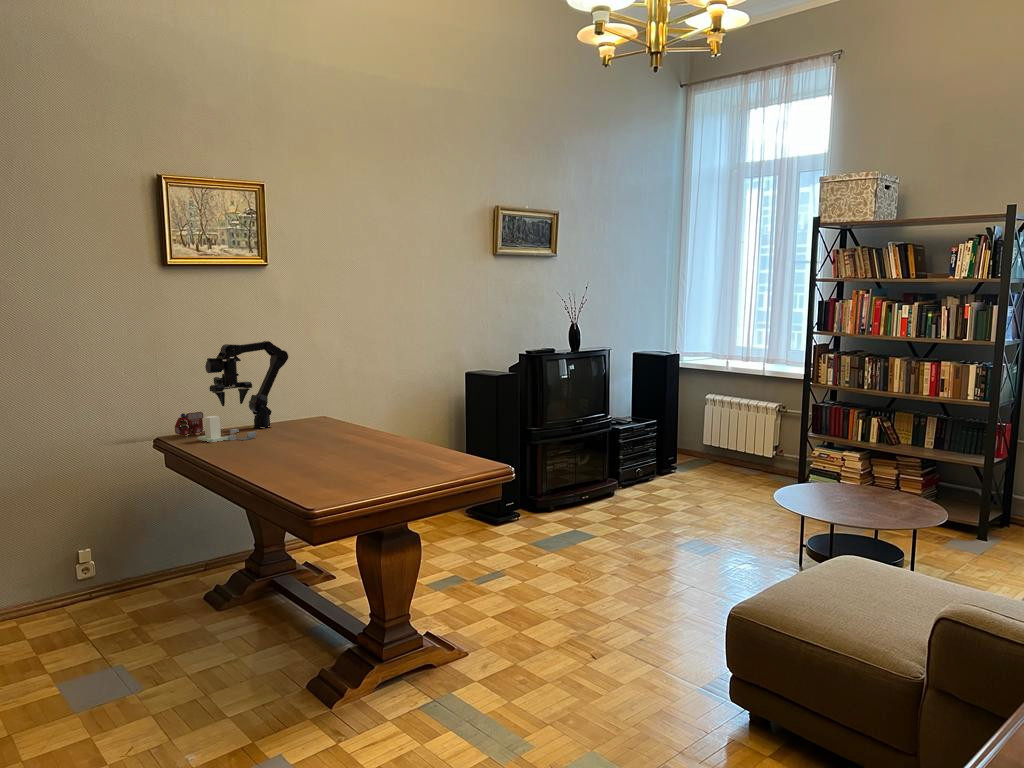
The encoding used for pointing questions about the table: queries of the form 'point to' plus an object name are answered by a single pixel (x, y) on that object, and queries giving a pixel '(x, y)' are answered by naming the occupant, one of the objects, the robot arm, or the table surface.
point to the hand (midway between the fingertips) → (232, 405)
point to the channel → (249, 436)
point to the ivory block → (212, 427)
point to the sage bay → (213, 439)
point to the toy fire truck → (189, 423)
